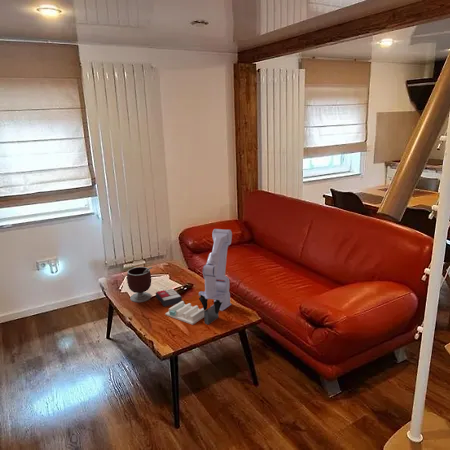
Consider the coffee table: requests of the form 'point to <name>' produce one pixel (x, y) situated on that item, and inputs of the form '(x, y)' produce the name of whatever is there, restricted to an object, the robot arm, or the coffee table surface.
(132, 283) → the mate gourd
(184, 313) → the rack
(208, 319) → the panel
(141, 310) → the coffee table surface
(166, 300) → the calculator
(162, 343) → the coffee table surface
